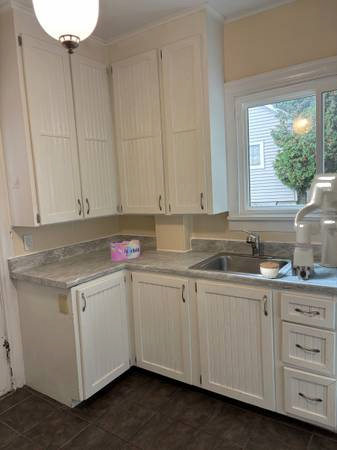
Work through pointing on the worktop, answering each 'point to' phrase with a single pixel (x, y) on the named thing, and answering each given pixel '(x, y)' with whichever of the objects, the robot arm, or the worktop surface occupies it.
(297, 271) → the lock block
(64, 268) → the worktop surface
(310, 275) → the coupler socket
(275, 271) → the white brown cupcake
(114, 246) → the gum box
